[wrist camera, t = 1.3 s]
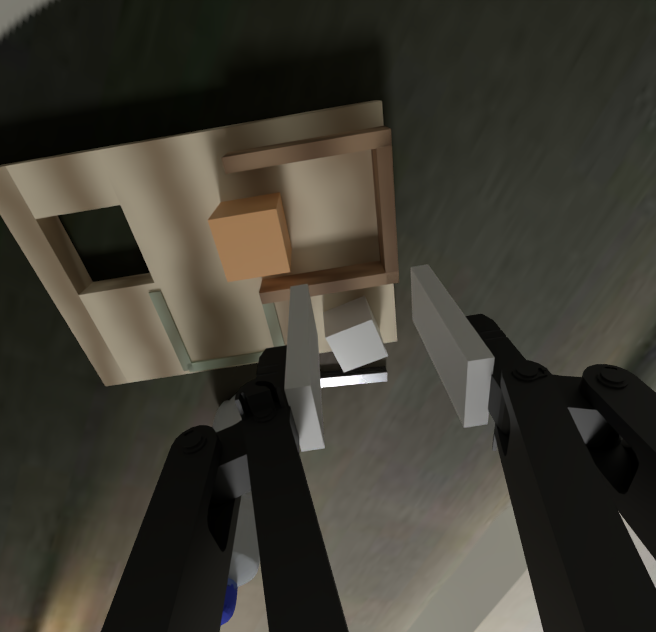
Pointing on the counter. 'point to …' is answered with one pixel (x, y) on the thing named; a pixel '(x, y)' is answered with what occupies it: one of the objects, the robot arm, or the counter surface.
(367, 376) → the crook tool
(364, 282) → the cubby
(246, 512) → the bottle
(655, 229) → the counter surface
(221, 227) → the cube
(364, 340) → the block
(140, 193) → the board
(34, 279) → the counter surface
